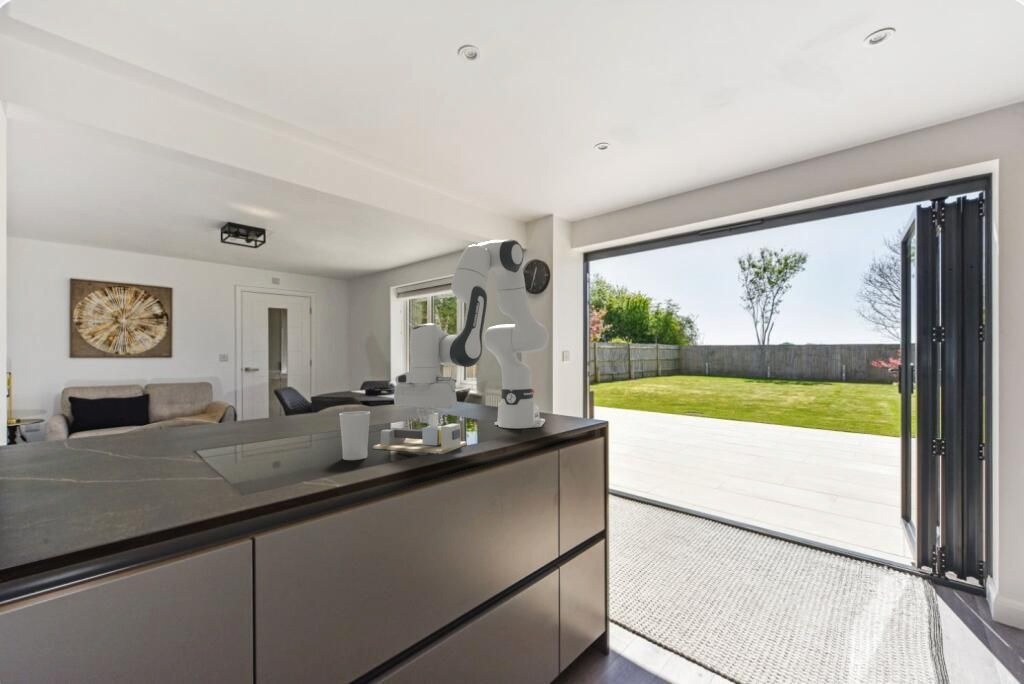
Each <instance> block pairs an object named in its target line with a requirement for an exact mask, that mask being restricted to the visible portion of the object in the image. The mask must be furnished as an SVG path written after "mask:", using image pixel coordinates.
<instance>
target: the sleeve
mask: <svg viewBox="0 0 1024 684" xmlns="http://www.w3.org/2000/svg"><path fill="white" fill-rule="evenodd" d="M428 424H429V426H425V427H422V428H421V430H422V444H424V445H440V444H441V443H439V440H438V431H439V430H440V429H441V427H442V426H443V425H439V412H434V413H433V414H429V423H428Z"/></svg>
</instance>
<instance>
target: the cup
mask: <svg viewBox="0 0 1024 684" xmlns="http://www.w3.org/2000/svg"><path fill="white" fill-rule="evenodd" d="M370 419H371V412H370V411H363V410H361V411H360V410H359V411H347V412H346V411H345V412H340V413H339V426H340V435H341V438H340V439H341V448H342V449H341V450H342V459H343V460H344V461H345V460H346V461H357V460H363V459H366V458H367V457H368V445H369V432H370V430H369V429H370Z"/></svg>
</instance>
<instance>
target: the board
mask: <svg viewBox="0 0 1024 684" xmlns="http://www.w3.org/2000/svg"><path fill="white" fill-rule="evenodd" d="M467 444H468V441H462V440H461V444H460V445H457V446H455V447H452V448H441V444H440V445H424V444H422V439H409V438H406V440H403V441H400V442H396V443H393V444H390V445H386V444H381V443H378V444H375V445H373V446H372V449H374V450H385V449H386V451H399V452H413V453H414V452H415V453H423V454H425V453H426V454H428V453H429V454H437V453H438V455H444V454H446V453H449V452H452V451H455V450H457V449H460V448H462V447H464V446H466V445H467Z"/></svg>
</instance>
